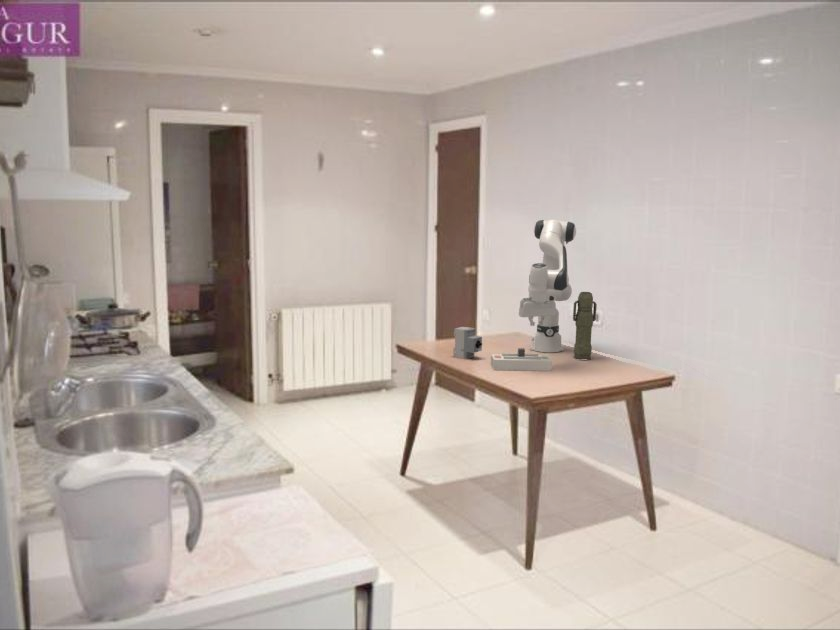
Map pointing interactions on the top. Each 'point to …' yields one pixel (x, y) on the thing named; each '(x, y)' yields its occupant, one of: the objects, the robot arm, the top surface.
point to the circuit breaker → (466, 342)
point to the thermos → (584, 325)
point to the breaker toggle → (521, 352)
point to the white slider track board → (521, 362)
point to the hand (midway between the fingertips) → (536, 325)
